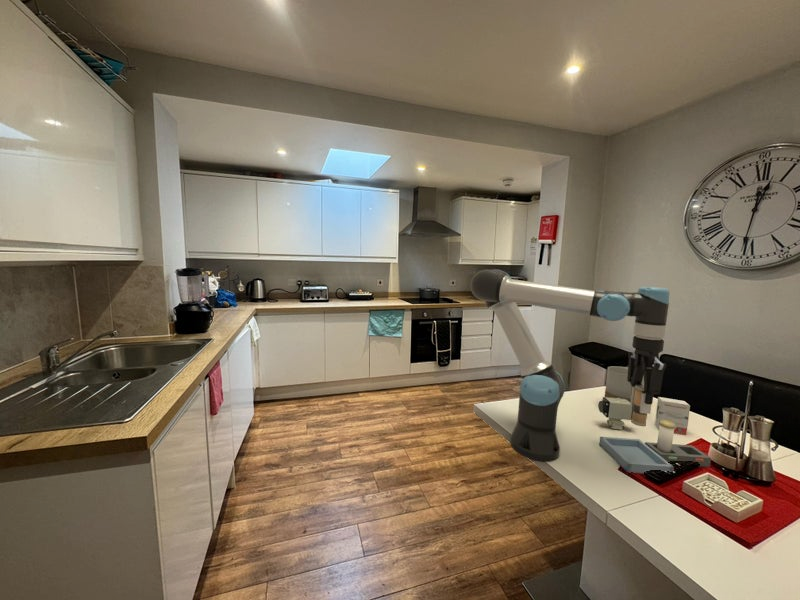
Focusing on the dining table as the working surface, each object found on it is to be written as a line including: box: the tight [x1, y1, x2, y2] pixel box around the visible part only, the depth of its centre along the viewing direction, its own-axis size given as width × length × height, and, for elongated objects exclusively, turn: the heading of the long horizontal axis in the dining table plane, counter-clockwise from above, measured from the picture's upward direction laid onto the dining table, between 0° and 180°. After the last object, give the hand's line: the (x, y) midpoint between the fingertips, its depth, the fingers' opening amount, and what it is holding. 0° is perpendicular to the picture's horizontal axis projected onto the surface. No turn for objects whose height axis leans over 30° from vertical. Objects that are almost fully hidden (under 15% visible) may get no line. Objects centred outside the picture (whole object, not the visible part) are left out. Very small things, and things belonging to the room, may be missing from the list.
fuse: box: [656, 420, 675, 453], centre depth 102 cm, size 4×4×12 cm
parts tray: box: [598, 436, 675, 474], centre depth 101 cm, size 13×15×3 cm
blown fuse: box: [630, 385, 648, 427], centre depth 99 cm, size 4×4×12 cm
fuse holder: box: [644, 441, 712, 468], centre depth 102 cm, size 15×7×3 cm, turn 86°
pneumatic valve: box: [597, 396, 633, 431], centre depth 121 cm, size 6×12×12 cm, turn 78°
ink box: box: [654, 396, 691, 436], centre depth 121 cm, size 9×5×12 cm, turn 65°
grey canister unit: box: [604, 365, 644, 402], centre depth 136 cm, size 13×13×18 cm
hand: (639, 409), depth 100 cm, fingers closed on blown fuse, 4 cm apart
